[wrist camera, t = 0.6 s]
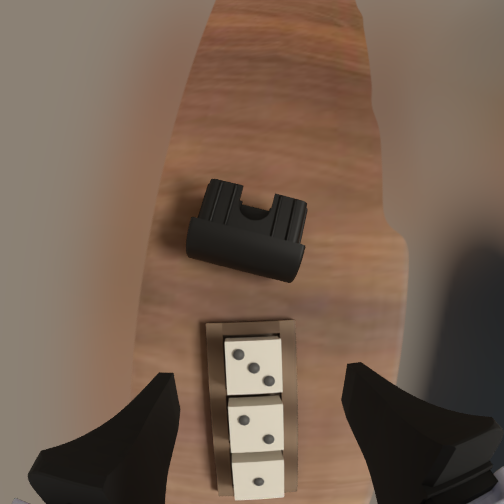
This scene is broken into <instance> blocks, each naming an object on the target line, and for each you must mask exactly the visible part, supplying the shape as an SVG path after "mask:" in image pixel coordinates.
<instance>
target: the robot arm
mask: <svg viewBox="0 0 504 504" xmlns="http://www.w3.org/2000/svg"><path fill="white" fill-rule="evenodd" d="M341 401H342V404H343V408H344V412H345V415H346V418H347V421H348V423H349V425H350V427H351V429H352V432H353V434H354V436H355V438H356V440H357V442H358V444H359V447H360V449H361V451H362V453H363V455H364V458H365V460H366V463H367V466H368V469H369V472H370V476H371V479H372V483H373V486H374V490H375V494H376V498H377V502H378V504H504V467H502V468H500V469H499V470H497V471H496V472H495V473H494V474H493V473H492V472H491V470H490V469H492V467H493V465H492V463H491V462H490V461H489V460H490V458H491V457H492V455H493V454H494V452H495V450H496V449H497V447H498V446H499V444H500V442H501V440H502V437H503V429H502V428H501V427H500V426H499V425H498V424H497V423H496V421H495V420H494V419H493V418H492V417H485V416H475V415H468V414H463V413H459V412H455V411H451V410H447V409H444V408H441V407H438V406H435V405H433V404H430V403H427V402H425V401H423V400H421V399H419V398H416V397H415V396H413V395H411V394H409V393H407V392H405V391H403V390H402V389H400V388H398V387H397V386H395V385H394V384H392V383H391V382H389V381H388V380H386V379H385V378H383V377H382V376H380V375H379V374H377V373H376V372H374V371H373V370H372V369H370V368H369V367H367V366H366V365H364V364H363V363H361V362H358V363H350V364H347V369H346V375H345V381H344V387H343V393H342V399H341ZM179 417H180V405H179V400H178V395H177V390H176V385H175V379H174V373H158V374H157V375H156V376H155V377H154V378H153V379H152V381H151V382H150V383H149V384H148V385H147V386H146V387H145V388H144V389H143V390H142V391H141V392H140V393H139V394H138V395H137V396H136V397H135V398H134V399H133V400H132V401H131V402H130V403H129V404H128V405H127V406H126V407H125V408H124V409H123V410H121V411H120V412H119V413H118V414H117V415H115V416H114V417H113V418H112V419H110V420H109V421H107V422H106V423H104V424H103V425H101V426H100V427H98V428H97V429H94V430H93V431H91V432H89V433H87V434H86V435H84V436H81V437H79V438H77V439H75V440H73V441H70V442H68V443H65V444H62V445H59V446H56V447H53V448H49V449H46V450H42V451H41V452H40V453H39V455H38V457H37V459H36V460H35V462H34V464H33V466H32V468H31V470H30V471H29V473H28V480H29V482H30V484H31V486H32V487H33V489H34V490H35V491H36V492H37V494H38V495H39V496H40V497H41V498H42V500H43V501H44V502H45V503H46V504H165V494H166V483H167V475H168V470H169V465H170V461H171V457H172V453H173V449H174V445H175V441H176V437H177V432H178V427H179ZM12 504H29V503H27V502H25V501H22V500H20V499H18V498H14V500H13V502H12Z"/></svg>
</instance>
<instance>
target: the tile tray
mask: <svg viewBox="0 0 504 504" xmlns="http://www.w3.org/2000/svg"><path fill="white" fill-rule="evenodd" d="M268 336H278V337H279V338H280V339H281V351H282V384H283V392H278V393H263V394H242V395H227V379H226V359H225V339H226V338H247V337H268ZM206 340H207V360H208V377H209V393H210V407H211V421H212V433H213V445H214V456H215V466H216V476H217V486H218V495H219V496H235V495H234V483H233V471H232V453H231V444H230V429H229V414H228V402H229V398H240V397H261V396H276V395H279V397H280V399H281V401H282V403H283V427H284V450H281V452H282V455H283V458H284V493H287V492H295V491H297V483H298V399H297V354H296V324H295V320H294V319H291V320H273V321H251V322H222V323H206Z"/></svg>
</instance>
